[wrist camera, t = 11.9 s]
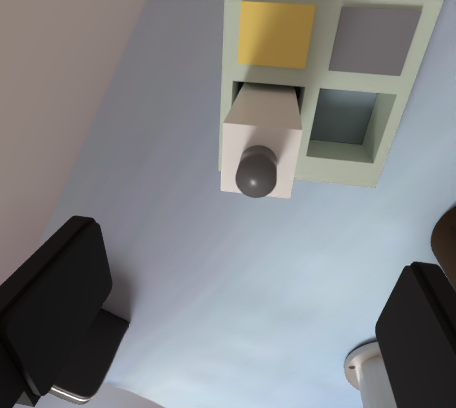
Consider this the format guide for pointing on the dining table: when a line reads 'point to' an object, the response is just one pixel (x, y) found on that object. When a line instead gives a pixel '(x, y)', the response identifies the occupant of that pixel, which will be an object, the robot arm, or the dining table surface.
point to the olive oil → (446, 245)
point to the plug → (261, 141)
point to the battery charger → (91, 359)
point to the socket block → (330, 69)
